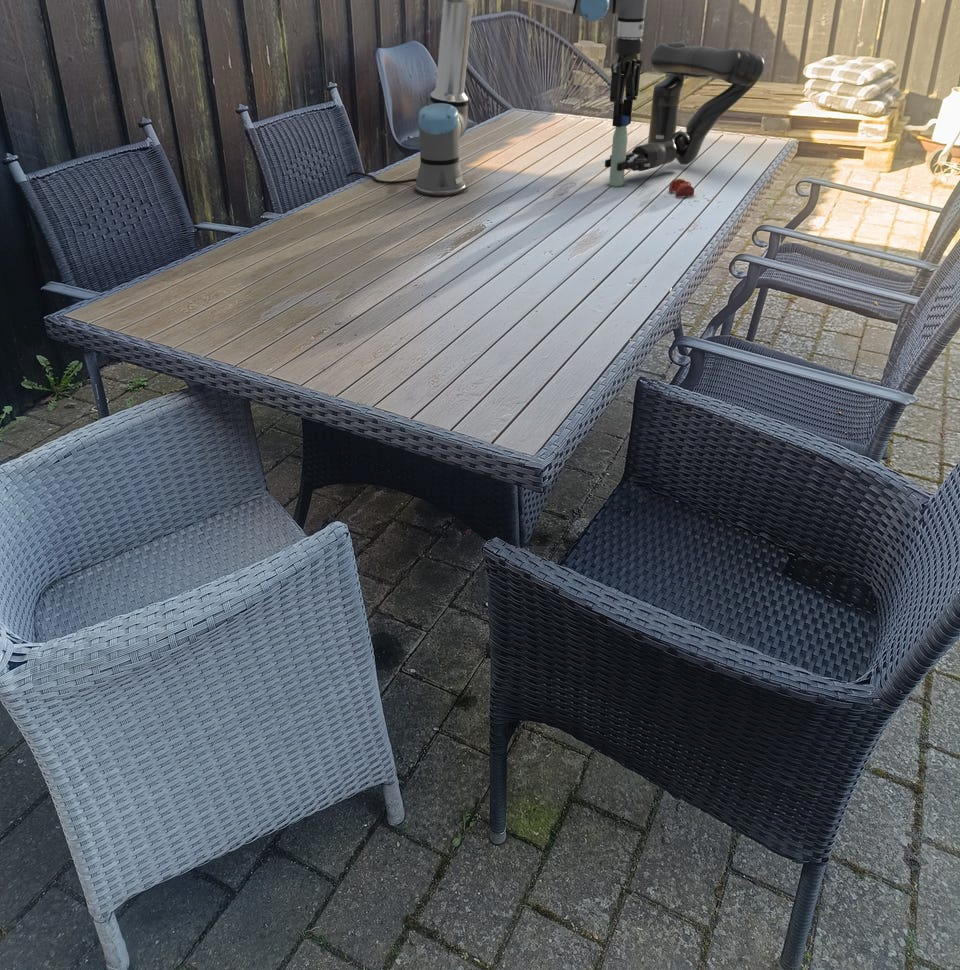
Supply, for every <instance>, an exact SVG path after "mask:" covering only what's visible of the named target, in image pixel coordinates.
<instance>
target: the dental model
mask: <svg viewBox="0 0 960 970" xmlns="http://www.w3.org/2000/svg"><path fill="white" fill-rule="evenodd" d="M668 192H669V193H670V192H675V197H676V198H680V197H691V196H694V195H695V188H694V186H693V184H692V183H691V182H690V181H687V180H685V179H684V178H675V179H673V180H672V181H671V182H670V184H669V185H668Z"/></svg>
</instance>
